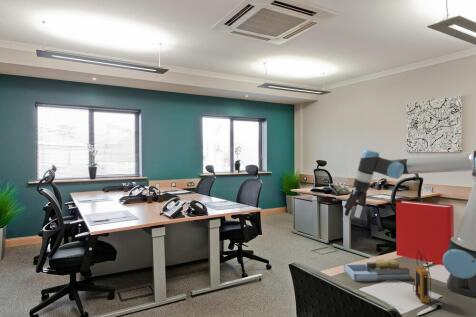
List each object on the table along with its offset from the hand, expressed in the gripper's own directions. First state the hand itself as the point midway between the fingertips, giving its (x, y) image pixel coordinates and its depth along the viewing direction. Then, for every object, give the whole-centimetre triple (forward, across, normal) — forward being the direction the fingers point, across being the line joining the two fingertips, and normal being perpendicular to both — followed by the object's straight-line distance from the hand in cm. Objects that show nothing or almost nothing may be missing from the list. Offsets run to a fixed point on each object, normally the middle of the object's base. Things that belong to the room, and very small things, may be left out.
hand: (351, 219), depth 158 cm
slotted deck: (+22, -8, +22) cm, 32 cm away
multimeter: (+15, +8, +44) cm, 47 cm away
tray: (+24, +2, +13) cm, 28 cm away
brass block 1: (+20, -6, +20) cm, 28 cm away
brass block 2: (+19, -10, +23) cm, 31 cm away
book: (+20, -46, +29) cm, 58 cm away
